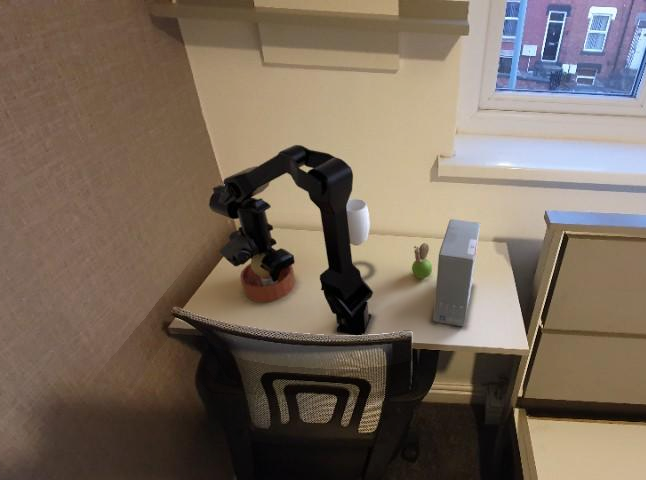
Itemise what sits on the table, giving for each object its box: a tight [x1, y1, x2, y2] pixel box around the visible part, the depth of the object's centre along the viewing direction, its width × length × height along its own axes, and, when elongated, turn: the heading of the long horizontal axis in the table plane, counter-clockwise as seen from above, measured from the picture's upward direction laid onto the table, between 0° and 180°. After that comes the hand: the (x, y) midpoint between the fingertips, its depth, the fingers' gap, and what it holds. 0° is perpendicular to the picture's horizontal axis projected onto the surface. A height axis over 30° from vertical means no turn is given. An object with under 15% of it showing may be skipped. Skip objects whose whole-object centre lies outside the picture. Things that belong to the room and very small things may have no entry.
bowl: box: [239, 262, 296, 303], centre depth 100 cm, size 12×12×5 cm
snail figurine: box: [411, 242, 433, 279], centre depth 104 cm, size 5×6×12 cm
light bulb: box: [250, 254, 278, 287], centre depth 98 cm, size 6×6×10 cm
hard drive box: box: [433, 218, 481, 327], centre depth 94 cm, size 16×8×20 cm, turn 168°
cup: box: [346, 198, 371, 246], centre depth 102 cm, size 7×7×21 cm
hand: (268, 275), depth 99 cm, fingers closed on light bulb, 6 cm apart
